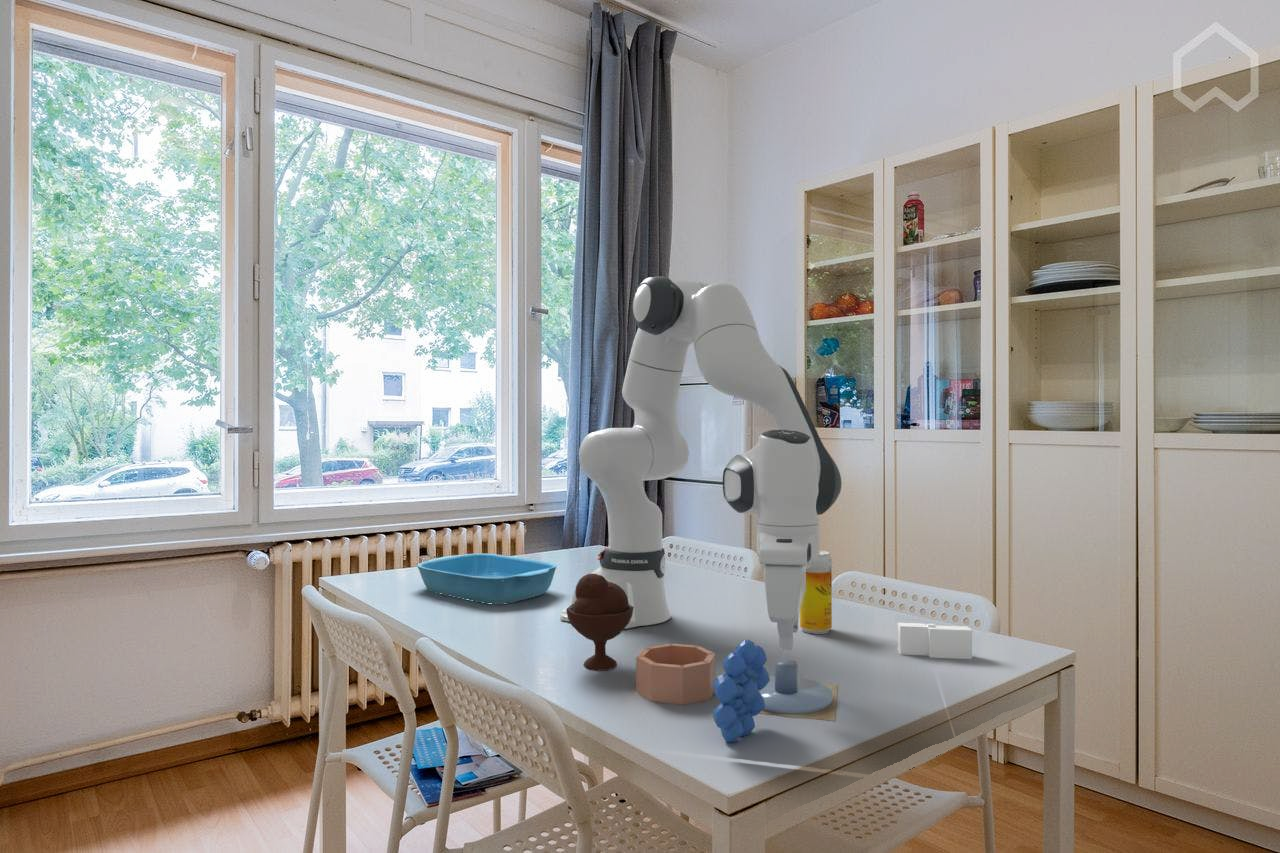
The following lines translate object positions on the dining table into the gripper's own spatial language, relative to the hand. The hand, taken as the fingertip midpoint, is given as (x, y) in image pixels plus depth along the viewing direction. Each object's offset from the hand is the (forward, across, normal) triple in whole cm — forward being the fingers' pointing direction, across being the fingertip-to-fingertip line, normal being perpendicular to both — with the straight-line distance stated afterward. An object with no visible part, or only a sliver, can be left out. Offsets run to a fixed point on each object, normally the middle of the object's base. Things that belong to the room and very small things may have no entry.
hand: (789, 639), depth 109 cm
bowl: (+8, +1, -17) cm, 19 cm away
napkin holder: (+10, -30, +22) cm, 38 cm away
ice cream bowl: (+8, -8, -32) cm, 34 cm away
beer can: (+9, -39, +2) cm, 40 cm away
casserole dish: (+8, -53, -75) cm, 93 cm away
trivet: (+9, 0, -1) cm, 9 cm away
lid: (+8, 0, -1) cm, 8 cm away
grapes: (+9, +14, -6) cm, 17 cm away
